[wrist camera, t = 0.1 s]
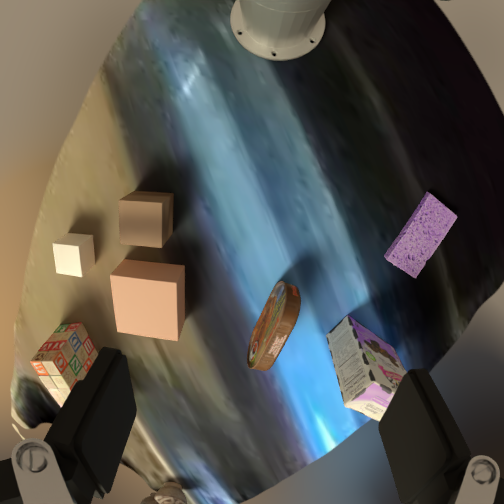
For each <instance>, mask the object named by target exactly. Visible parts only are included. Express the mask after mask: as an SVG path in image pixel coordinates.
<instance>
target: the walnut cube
mask: <svg viewBox="0 0 504 504" xmlns="http://www.w3.org/2000/svg"><path fill="white" fill-rule="evenodd" d="M173 199H174V193H162V192H146V191H134V192H132V193H130V194H128V195H127V196H125V197H123V198H122V199H120V200H119V231H120V244H127V245H137V246H147V247H157V248H162V247H163V246H164V244H165V243H166V242H167V240H168V239H169V238H170V236H171V235H172V233H173Z"/></svg>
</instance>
